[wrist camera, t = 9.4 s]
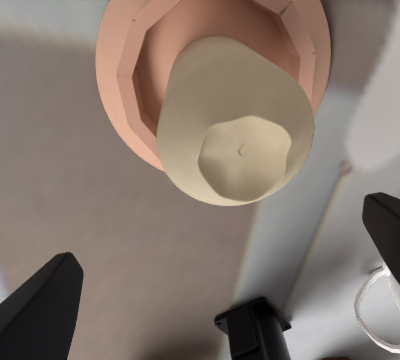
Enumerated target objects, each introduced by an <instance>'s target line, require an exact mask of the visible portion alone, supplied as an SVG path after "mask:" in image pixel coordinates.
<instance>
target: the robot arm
mask: <svg viewBox="0 0 400 360" xmlns="http://www.w3.org/2000/svg"><path fill="white" fill-rule="evenodd" d="M362 220H363V223H364V225H365V227H366V229H367V231H368V233H369V234H370V236H371V238H372V240H373V242H374V244H375V245H376V247H377V249H378V251H379V253H380V255H381V256H382V258H383V260H384V262H385V264H386V265H387V267H388V269H389V270H390V272H391V273H392V275H393V276H394V278H395V279H396V281H397V282H398V283H399V285H400V199H398V198H396V197H393V196H390V195H388V194H385V193H382V192H378V193H373V194H368V195H366V196H365V198H364V205H363V213H362ZM83 276H84V275H83V269H82V267H81V266H80V264H79V263H78V261H77V260H76V258H75V257H74V255H73V254H72V253H71V252H65V253H60V254H57V255H55V256H54V257H53V258H52V259H51V260H50V261H49V262H47V263H46V264H45V265H44V266H43V267H42V268H41V269H39V270H38V271H37V272H36V273H35V274H34V275H33V276H31V277H30V278H29V279H28V280H27V281H26V282H25V283H23V284H22V285H21V286H20V287H19V288H18V289H17V290H16V291H14V292H13V293H12V294H11V295H10V296H9V297H8V298H6V299H5V300H4V301H3V302H2V303H1V304H0V360H67V357H68V353H69V350H70V346H71V342H72V338H73V334H74V330H75V326H76V321H77V316H78V309H79V303H80V296H81V290H82V283H83ZM214 324H215V326H217V327H218V328H219V329H220V330H222V331H223V332H224V333H225V334H227V335H228V338H229V345H230V353H231V358H232V360H291V358H290V355H289V352H288V348H287V345H286V342H285V338H284V335H283V332H284V331H286V330H288V329H290V328H291V324H290V322H289V321H288V320H287V319H286V318H285V317H284V316H283V315H282V314H281V313H280V312H279V311H278V310H277V309H276V308H275V307H274V305H273V304H272V303H271V302H270V301H269V300H268V299H267V298H264V297H262V298H259V299H257V300H255V301H253V302H250V303H248V304H246V305H244V306H242V307H239V308H237V309H235V310H233V311H231V312H229V313H226V314H224V315H222V316H220V317H218V318H216V319H215V320H214Z"/></svg>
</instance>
